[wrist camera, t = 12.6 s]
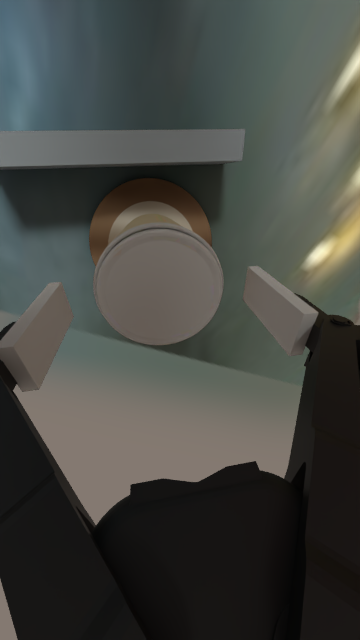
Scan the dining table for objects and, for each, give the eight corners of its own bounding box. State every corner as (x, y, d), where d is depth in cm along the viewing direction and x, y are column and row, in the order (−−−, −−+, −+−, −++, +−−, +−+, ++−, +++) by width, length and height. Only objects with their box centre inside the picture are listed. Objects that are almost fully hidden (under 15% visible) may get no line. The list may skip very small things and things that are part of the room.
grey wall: (-20, 141, 19) (-66, 131, 15) (224, 138, 21) (245, 129, 17) (-9, 170, 20) (-48, 167, 16) (223, 163, 22) (241, 160, 18)
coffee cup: (164, 299, 29) (177, 363, 19) (97, 261, 25) (68, 317, 15) (209, 238, 25) (253, 278, 15) (138, 183, 21) (136, 188, 11)
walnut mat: (74, 180, 21) (71, 180, 20) (213, 175, 23) (215, 175, 22) (105, 304, 29) (104, 308, 28) (207, 295, 30) (209, 298, 30)
